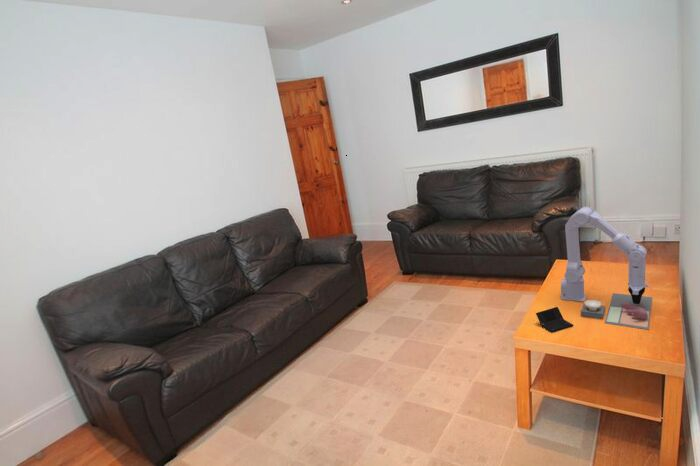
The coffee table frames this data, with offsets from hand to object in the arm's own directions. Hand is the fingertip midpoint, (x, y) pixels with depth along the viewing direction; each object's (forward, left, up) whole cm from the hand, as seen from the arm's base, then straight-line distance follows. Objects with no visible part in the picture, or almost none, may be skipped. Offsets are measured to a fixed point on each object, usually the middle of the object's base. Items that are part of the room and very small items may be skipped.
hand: (636, 303), depth 165 cm
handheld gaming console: (-27, -26, -2) cm, 38 cm away
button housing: (-15, -11, -2) cm, 19 cm away
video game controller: (-2, -10, 0) cm, 11 cm away
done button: (-15, -12, 0) cm, 19 cm away
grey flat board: (-2, -3, -2) cm, 5 cm away
